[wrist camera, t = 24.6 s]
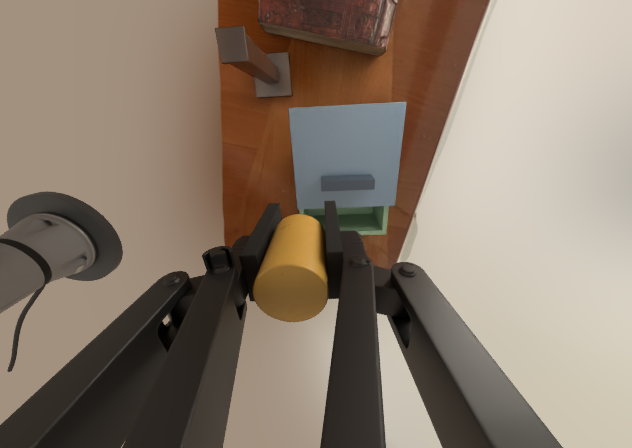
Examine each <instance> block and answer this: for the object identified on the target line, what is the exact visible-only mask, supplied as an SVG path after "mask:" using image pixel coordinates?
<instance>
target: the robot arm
mask: <svg viewBox="0 0 632 448" xmlns="http://www.w3.org/2000/svg"><path fill="white" fill-rule="evenodd" d="M324 206H325V235H326V261H327V275H328V299H336V298H339V303H338V311H337V319H336V327H335V335H334V343H333V351H332V359H331V367H330V375H329V383H328V391H327V399H326V407H325V415H324V423H323V431H322V439H321V447H320V448H386V443H385V429H384V414H383V399H382V385H381V371H380V356H379V342H378V328H377V313H379V314H384V315H387V317H388V320H389V322H390V324H391V327H392V329H393V332H394V334H395V336H396V338H397V341H398V344H399V346H400V348H401V351H402V353H403V355H404V358H405V360H406V362H407V365H408V367H409V370H410V372H411V374H412V377H413V379H414V381H415V384H416V386H417V388H418V391H419V393H420V395H421V398H422V400H423V402H424V405H425V407H426V410H427V412H428V414H429V417H430V419H431V421H432V424H433V426H434V429H435V431H436V433H437V436H438V438H439V440H440V443H441V445H442V447H443V448H563V447H562V446H561V445H560V444H559V442H558V441H557V440H556V439H555V437H554V436H553V435H552V433H551V432H550V431H549V430H548V428H547V427H546V426H545V425H544V423H543V422H542V421H541V420H540V418H539V417H538V416H537V414H536V413H535V412H534V410H533V409H532V408H531V407H530V405H529V404H528V403H527V401H526V400H525V399H524V398H523V396H522V395H521V394H520V393H519V391H518V390H517V389H516V388H515V386H514V385H513V384H512V382H511V381H510V380H509V379H508V377H507V376H506V375H505V373H504V372H503V371H502V370H501V368H500V367H499V366H498V364H497V363H496V362H495V361H494V359H493V358H492V357H491V356H490V354H489V353H488V352H487V351H486V349H485V348H484V347H483V345H482V344H481V343H480V342H479V340H478V339H477V338H476V336H475V335H474V334H473V333H472V331H471V330H470V329H469V328H468V326H467V325H466V324H465V322H464V321H463V320H462V319H461V317H460V316H459V315H458V314H457V312H456V311H455V310H454V308H453V307H452V306H451V305H450V303H449V302H448V301H447V300H446V298H445V297H444V296H443V294H442V293H441V292H440V291H439V289H438V288H437V287H436V286H435V284H434V283H433V282H432V280H431V279H430V278H429V277H428V276H427V274H426V273H425V272H424V270H423V269H421V267H419V266H417V265H415V264H412V263H409V262H400V263H396V264H395V265H393V266H392V269H391V270H390V269H385V268H380V267H377V266H375V265H373V263H372V261H371V260H370V259H369V258H368V257H367V254H366V251H365V248H364V245H363V241H362V238H361V235H360V234H359V233H358V232H357V231H356V230H353V231H340V228H339V222H338V215H337V209H336V203H335V200H334V201H324ZM281 220H282V217H281V210H280V203H275V204H269V205H268V206H267V208H266V210H265V212H264V213H263V215H262V217H261V219H260V220H259V222H258V224H257V226H256V227H255V229H254V231H253V232H252V234H251V236H242V237H241V238H239V239H238V240H236V242H235V243H234V245H233V246H232V248H230V247H228V246H219V247H215V248H212V249H210V250H208V251H206V252H205V253H204V254H203V255H202V257H203V260H204V263H205V266H206V269H207V272H206V274H205V275H203V276H198V277H194V278H189V276H188V274H187V273H186V272H183V271H178V272H172V273H169V274H167V275H165V276H164V277H162V278H160V279H159V280H158V281H157V282H156V283H155V284H153V285H152V286H151V287H150V288H149V289H148V290H147V291H146V292H145V293H144V294H143V295H141V296H140V297H139V298H138V299H137V300H136V301H135V302H134V303H133V304H132V305H131V306H130V307H129V308H127V309H126V310H125V311H124V312H123V313H122V314H121V315H120V316H119V317H118V318H117V319H115V320H114V321H113V322H112V323H111V324H110V325H109V326H108V327H107V328H106V329H105V330H103V331H102V332H101V333H100V334H99V335H98V336H97V337H96V338H95V339H94V340H93V341H91V342H90V343H89V344H88V345H87V346H86V347H85V348H84V349H83V350H82V351H81V352H80V353H79V354H77V355H76V356H75V357H74V358H73V359H72V360H71V361H70V362H69V363H67V364H66V365H65V366H64V367H63V368H62V369H61V370H60V371H59V372H58V373H57V374H56V375H55V376H53V377H52V378H51V379H50V380H49V381H48V382H47V383H46V384H45V385H44V386H42V388H40V389H39V390H38V391H37V392H36V393H35V394H34V395H33V396H32V397H30V399H28V401H26V402H25V403H24V404H23V405H22V406H21V407H20V408H19V409H17V410H16V411H15V412H14V413H13V414H12V415H11V416H10V417H9V418H8V419H7V420H5V421H4V422H3V423H2V424H1V425H0V448H121V446H122V445H123V443H124V442H125V443H124V445H123V447H122V448H223V442H224V437H225V430H226V425H227V419H228V414H229V408H230V402H231V397H232V391H233V385H234V380H235V374H236V368H237V362H238V357H239V351H240V345H241V339H242V333H243V328H244V322H245V317H246V311H247V304H246V301H245V299H246V297H247V295H248V294H249V298H250V301H255V300H254V296H253V285H254V282H255V279H256V277H257V274H258V272H259V269H260V267H261V264H262V262H263V259H264V257H265V254H266V252H267V249H268V247H269V244H270V241H271V239H272V236H273V234H274V231H275V229H276V227H277V225H278V224H279V222H280V221H281ZM97 258H98V248H97V245H96V242H95V241H94V239H93V237H92V236H91V235H90V234H89V232H88V231H87V230H86V229H85V228H83V227H82V226H81V225H80V224H78V223H77V222H75V221H74V220H72V219H70V218H68V217H66V216H64V215H61V214H57V213H53V212H39V213H36V214H33V215H30V216H28V217H26V218H24V219H22V220H21V221H19V222H18V223H17V224H16V225H14V226H13V227H12V228H10V229H9V230H8V231H6V232H5V233H4V234H3V235H1V236H0V313H2V312H3V311H5V310H6V309H8V308H10V307H11V306H13V305H14V304H16V303H17V302H19V301H20V300H22V299H24V298H25V297H27V296H28V295H30V294H32V293H33V292H35V291H36V292H35V293H34V295H33V296H32V297H31V299H30V300H29V302H28V304H27V305H26V306H25V308H24V309H23V311H22V313H21V315H20V317H19V319H18V322H17V325H16V329H15V334H14V341H13V349H12V357H11V361H10V365H9V367H8V372H10V371H12V369H13V366H14V363H15V360H16V356H17V347H18V341H19V334H20V329H21V326H22V323H23V320H24V318H25V316H26V314H27V312H28V310H29V309H30V307H31V306H32V304H33V303H34V301H35V300H36V298H37V297H38V296H39V294H40V293H41V292H42V290H43V289H44V287H45V285H46V284H48V283H49V282H51V281H54V280H57V279H60V278H63V277H67V276H70V275H73V274H76V273H79V272H81V271H83V270H86V269H87V268H89V267H90V266H92V265H93V264H94V263H95V262H96V261H97ZM166 315H168V317H169V319H170V321H169V322H168V323H167V324H166V325H164V324H163V322H162V320H163V319H164V318H165V317H166ZM125 440H126V441H125Z"/></svg>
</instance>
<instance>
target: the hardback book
mask: <svg viewBox="0 0 632 448" xmlns="http://www.w3.org/2000/svg"><path fill="white" fill-rule="evenodd" d="M397 4H398V0H259V8H258V22H259V24H260V25H261V27H262V28H263V29H264V31H265V32H267V33H272V34H277V35H281V36H286V37H291V38H295V39H300V40H305V41H309V42H314V43H319V44H324V45H328V46H333V47H338V48H342V49H347V50H352V51H356V52H361V53H366V54H370V55H375V56H381V55H383V54H384V53H385V52H386V48H387V44H388V40H389V36H390V32H391V28H392V24H393V20H394V16H395V12H396V8H397Z"/></svg>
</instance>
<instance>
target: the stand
mask: <svg viewBox="0 0 632 448" xmlns="http://www.w3.org/2000/svg"><path fill="white" fill-rule="evenodd" d="M215 32H216V37H217V43H218V48H219V53H220V58H221V63H223V64H231V65H233V66H235V67H237V68H238V69H240V70H242V71H244V72H246V73H248V74H249V75H251V76H253V77H254V82H255V89H256V96H257V98H266V97H284V96H292V84H291V71H290V59H289V53H288V52H280V53H265V54H264V53H263V52H262V50H261V49H260V48H259V47H258V46H257V45H256V44H255V43H254V42H253V41H252V40H251V39H250V38H249V37H248V36H247V35H246V31H245V28H244V26H235V27H221V28H215Z"/></svg>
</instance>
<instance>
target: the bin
mask: <svg viewBox="0 0 632 448" xmlns="http://www.w3.org/2000/svg"><path fill="white" fill-rule="evenodd" d="M336 209H337V215H338V222H339V228H340V231H353V230H356V231H357V232H358V233H359V234H360V235H381V234H386V229H387V219H388V209H389V206H377V207H349V208H336ZM299 210H300V214H303V215H308V216H310V217H313V218H314V219H316V220H317V221H318V222H319V223H320V224H321V225H322V226H323V228H324V230H325V208H321V209H299Z"/></svg>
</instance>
